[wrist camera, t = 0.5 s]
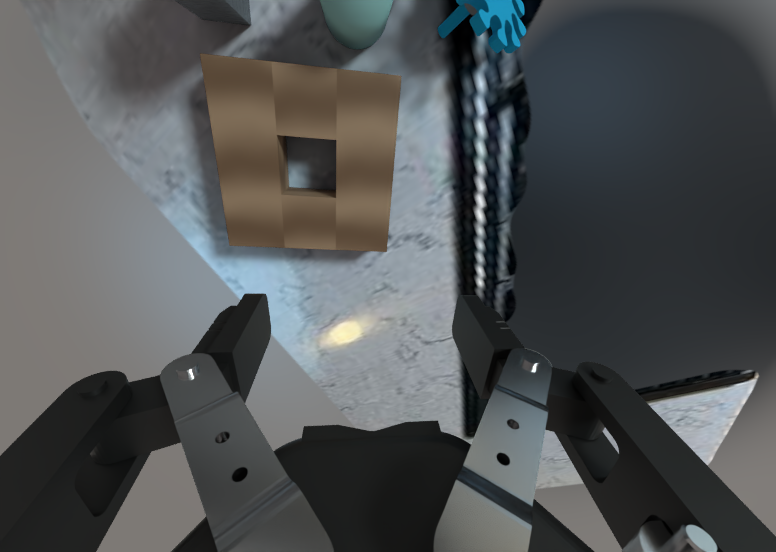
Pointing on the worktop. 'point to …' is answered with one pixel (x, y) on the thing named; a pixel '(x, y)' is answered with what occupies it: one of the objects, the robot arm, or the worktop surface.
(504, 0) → the gear
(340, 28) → the round peg
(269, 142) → the socket block
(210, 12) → the square peg
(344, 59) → the worktop surface
